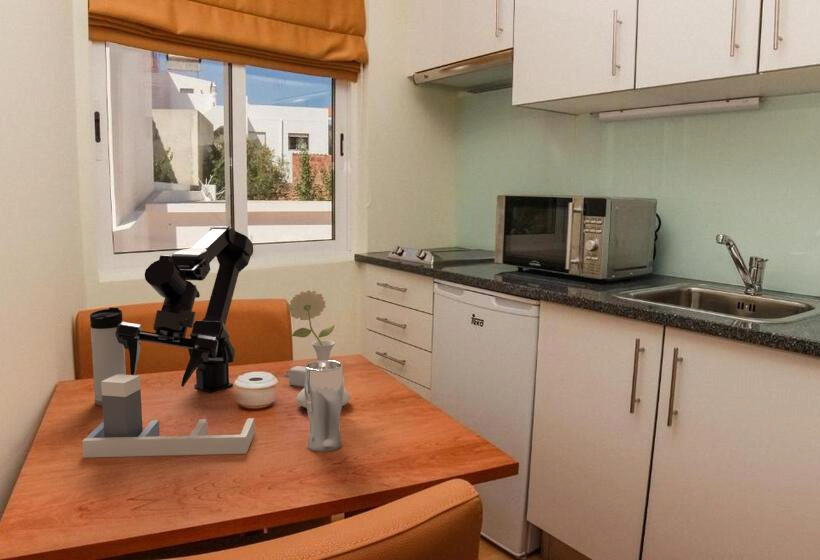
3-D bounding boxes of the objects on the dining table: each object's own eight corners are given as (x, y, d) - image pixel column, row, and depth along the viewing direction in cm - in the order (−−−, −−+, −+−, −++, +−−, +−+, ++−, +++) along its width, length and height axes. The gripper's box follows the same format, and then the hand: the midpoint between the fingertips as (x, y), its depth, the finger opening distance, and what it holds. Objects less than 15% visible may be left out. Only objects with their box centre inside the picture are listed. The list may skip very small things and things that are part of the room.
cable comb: (254, 433, 119) (254, 418, 119) (246, 453, 110) (246, 437, 110) (104, 436, 117) (103, 421, 116) (83, 457, 108) (82, 440, 107)
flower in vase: (351, 397, 141) (351, 286, 137) (348, 415, 129) (348, 295, 126) (293, 397, 140) (291, 285, 137) (284, 415, 129) (282, 294, 125)
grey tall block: (120, 437, 116) (117, 374, 114) (143, 439, 115) (139, 375, 113) (105, 447, 111) (101, 381, 110) (128, 449, 111) (124, 383, 109)
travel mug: (133, 397, 139) (129, 307, 136) (117, 407, 132) (111, 313, 129) (106, 395, 139) (101, 306, 137) (88, 405, 133) (82, 312, 130)
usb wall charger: (305, 388, 147) (305, 371, 146) (279, 384, 149) (279, 368, 149) (314, 383, 150) (313, 367, 150) (288, 380, 153) (288, 364, 152)
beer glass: (350, 441, 116) (350, 361, 114) (333, 455, 110) (333, 372, 108) (316, 435, 119) (315, 358, 116) (298, 449, 112) (296, 368, 110)
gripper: (124, 282, 119) (99, 361, 112) (225, 301, 123) (207, 377, 116) (130, 305, 128) (107, 379, 121) (224, 322, 132) (207, 394, 125)
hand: (157, 382), depth 121 cm, fingers open, 9 cm apart
